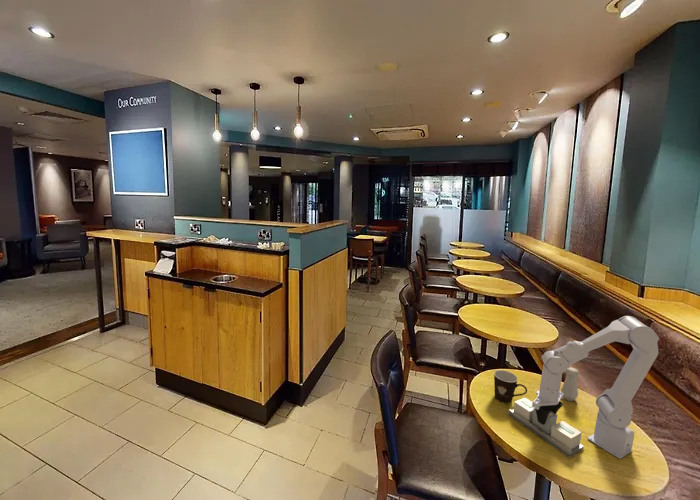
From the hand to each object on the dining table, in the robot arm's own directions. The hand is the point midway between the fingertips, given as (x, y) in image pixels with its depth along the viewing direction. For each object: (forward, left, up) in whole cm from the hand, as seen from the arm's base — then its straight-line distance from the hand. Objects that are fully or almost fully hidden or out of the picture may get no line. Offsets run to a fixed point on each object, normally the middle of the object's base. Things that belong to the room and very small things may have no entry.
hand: (545, 420), depth 111 cm
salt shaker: (+7, -27, -4) cm, 29 cm away
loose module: (0, 0, -3) cm, 3 cm away
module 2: (-7, 0, -3) cm, 7 cm away
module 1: (+7, 0, -3) cm, 7 cm away
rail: (0, +1, -4) cm, 4 cm away
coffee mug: (+17, -2, -4) cm, 18 cm away
